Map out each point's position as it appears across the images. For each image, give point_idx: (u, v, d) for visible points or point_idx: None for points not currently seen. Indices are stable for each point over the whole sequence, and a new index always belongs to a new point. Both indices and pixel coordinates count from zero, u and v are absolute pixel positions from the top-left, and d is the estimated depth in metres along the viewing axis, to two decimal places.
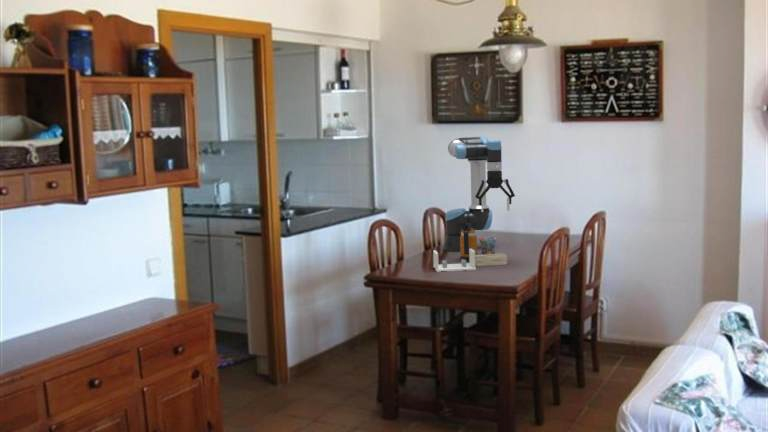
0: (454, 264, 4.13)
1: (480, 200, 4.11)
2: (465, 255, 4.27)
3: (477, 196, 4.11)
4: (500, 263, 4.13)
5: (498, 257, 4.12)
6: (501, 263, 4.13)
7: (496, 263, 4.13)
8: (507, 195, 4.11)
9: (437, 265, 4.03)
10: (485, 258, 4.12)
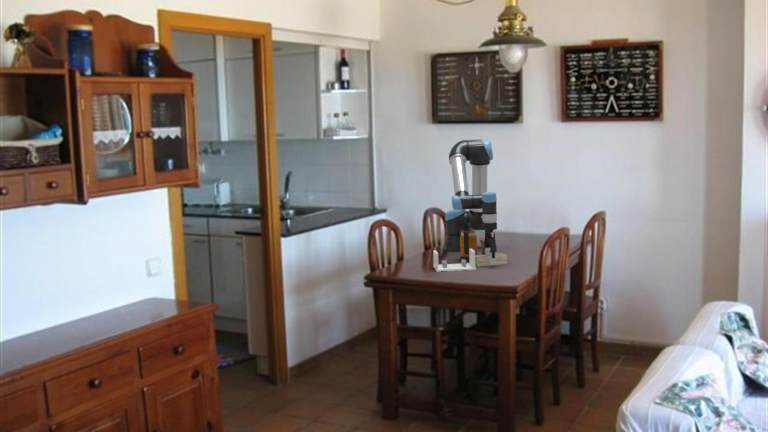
0: (454, 264, 4.13)
1: None
2: (465, 255, 4.27)
3: (484, 244, 4.23)
4: (500, 263, 4.14)
5: (498, 257, 4.13)
6: (501, 263, 4.14)
7: (496, 263, 4.13)
8: (490, 249, 4.08)
9: (437, 265, 4.03)
10: (486, 258, 4.11)
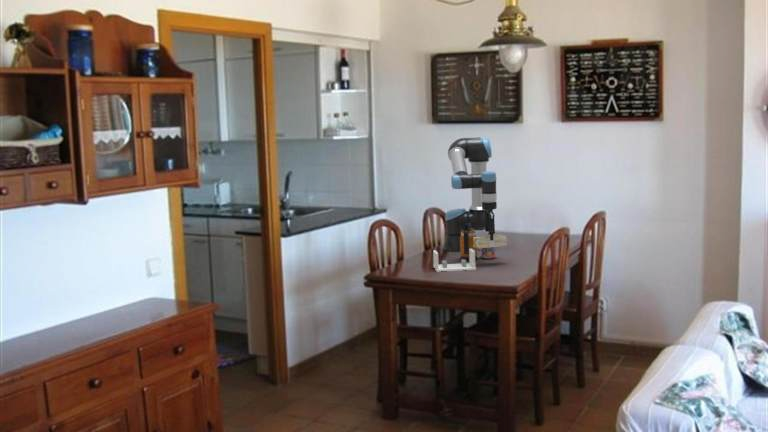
0: (454, 264, 4.13)
1: None
2: (465, 255, 4.27)
3: (485, 227, 4.20)
4: (500, 244, 4.13)
5: (498, 238, 4.12)
6: (501, 244, 4.13)
7: (496, 244, 4.12)
8: (488, 230, 4.10)
9: (437, 265, 4.03)
10: (486, 240, 4.10)
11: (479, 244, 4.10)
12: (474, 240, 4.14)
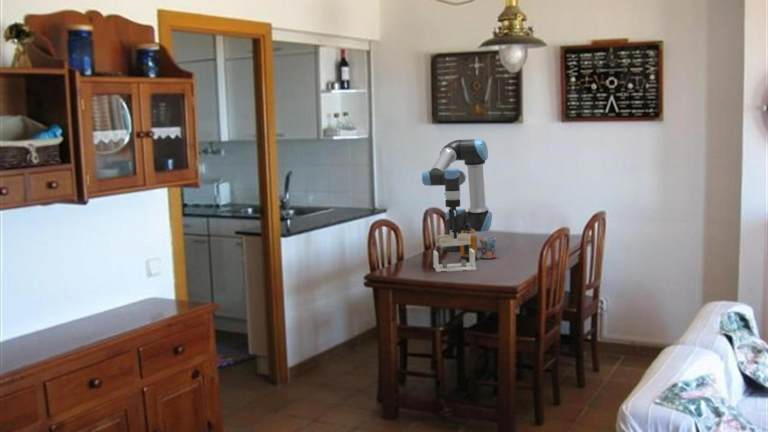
0: (454, 264, 4.13)
1: (450, 230, 4.11)
2: (465, 255, 4.27)
3: (449, 226, 4.12)
4: (464, 243, 4.05)
5: (462, 236, 4.04)
6: (465, 242, 4.05)
7: (460, 243, 4.04)
8: (452, 228, 4.02)
9: (437, 265, 4.03)
10: (449, 238, 4.03)
11: (442, 242, 4.02)
12: (438, 238, 4.06)
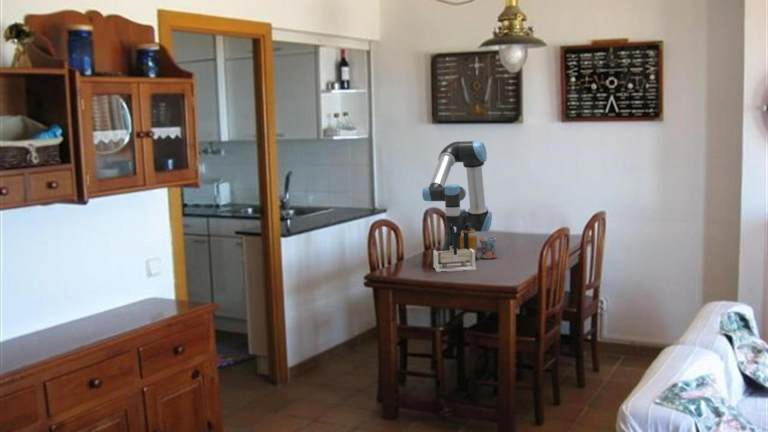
0: (454, 264, 4.13)
1: (451, 246, 4.12)
2: None
3: (449, 241, 4.13)
4: (464, 258, 4.06)
5: (462, 252, 4.05)
6: (465, 258, 4.06)
7: (460, 259, 4.05)
8: (452, 244, 4.03)
9: (437, 265, 4.03)
10: (449, 254, 4.04)
11: (442, 258, 4.03)
12: (438, 254, 4.07)
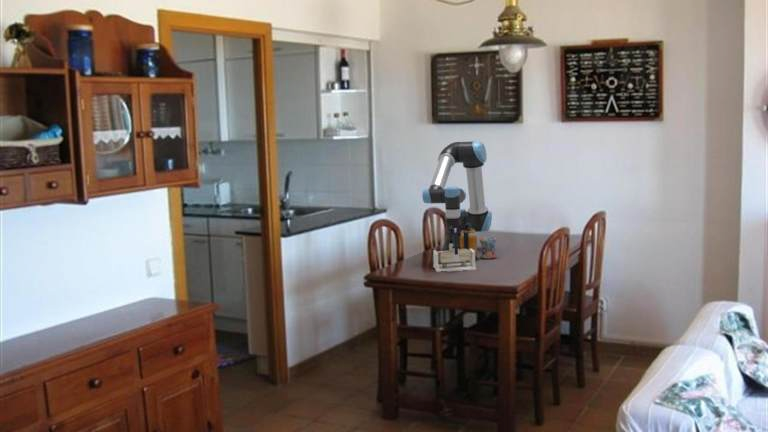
0: (454, 264, 4.13)
1: None
2: None
3: (448, 239, 4.16)
4: (464, 258, 4.06)
5: (462, 252, 4.05)
6: (465, 258, 4.06)
7: (460, 259, 4.05)
8: (453, 245, 4.00)
9: (437, 265, 4.03)
10: (449, 254, 4.04)
11: (442, 258, 4.03)
12: (438, 254, 4.07)
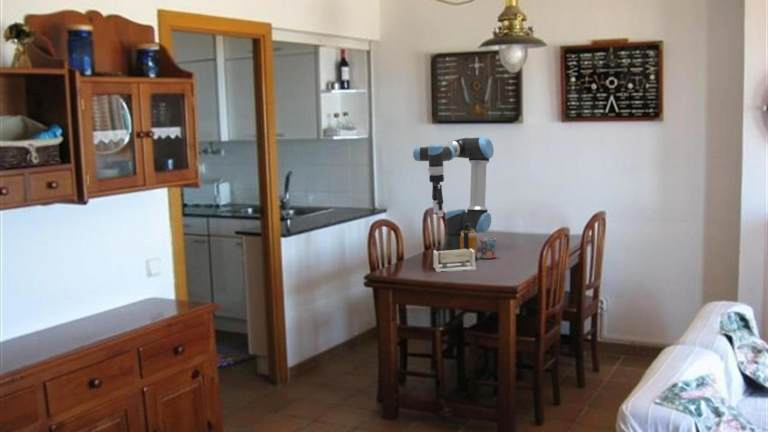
0: (454, 264, 4.13)
1: None
2: None
3: (432, 197, 4.26)
4: (464, 258, 4.06)
5: (462, 252, 4.05)
6: (465, 258, 4.06)
7: (460, 259, 4.05)
8: (437, 201, 4.11)
9: (437, 265, 4.03)
10: (449, 254, 4.04)
11: (442, 258, 4.03)
12: (438, 254, 4.07)
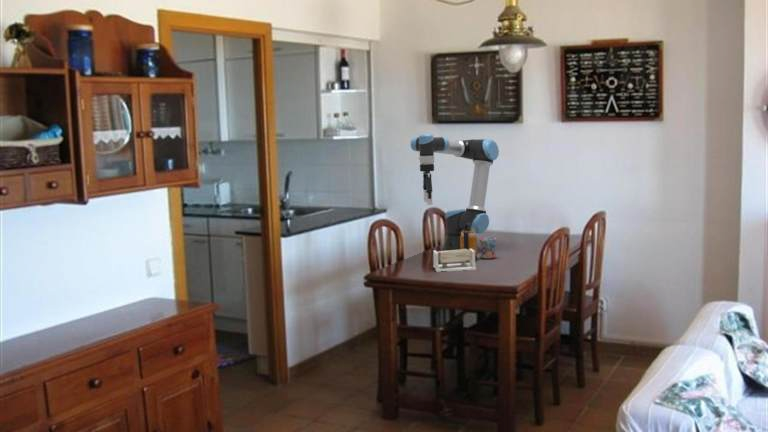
0: (454, 264, 4.13)
1: None
2: None
3: (423, 186, 4.33)
4: (464, 258, 4.06)
5: (462, 252, 4.05)
6: (465, 258, 4.06)
7: (460, 259, 4.05)
8: None
9: (437, 265, 4.03)
10: (449, 254, 4.04)
11: (442, 258, 4.03)
12: (438, 254, 4.07)
